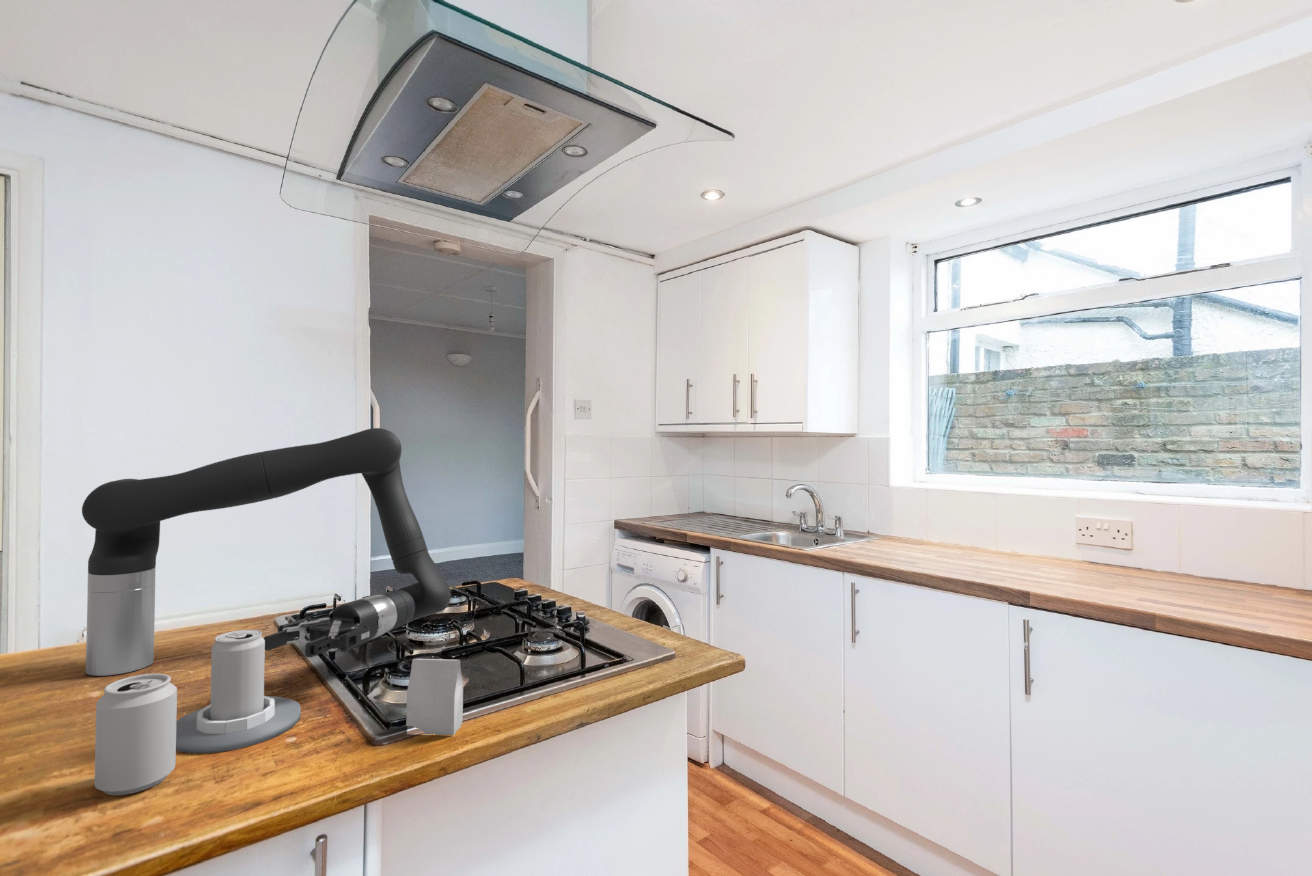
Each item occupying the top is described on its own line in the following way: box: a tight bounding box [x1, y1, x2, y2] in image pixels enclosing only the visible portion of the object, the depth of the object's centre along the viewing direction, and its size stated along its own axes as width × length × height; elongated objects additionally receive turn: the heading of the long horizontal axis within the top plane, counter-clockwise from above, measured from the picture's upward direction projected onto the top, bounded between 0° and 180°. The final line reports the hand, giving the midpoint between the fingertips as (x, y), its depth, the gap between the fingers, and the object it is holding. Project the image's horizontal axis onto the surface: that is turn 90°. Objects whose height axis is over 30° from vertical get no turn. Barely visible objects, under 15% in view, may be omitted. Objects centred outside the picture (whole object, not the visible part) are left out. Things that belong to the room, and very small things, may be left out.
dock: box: [176, 695, 302, 754], centre depth 91 cm, size 16×16×2 cm
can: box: [93, 673, 178, 796], centre depth 76 cm, size 8×8×12 cm
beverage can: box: [210, 629, 266, 721], centre depth 91 cm, size 6×6×12 cm
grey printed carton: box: [405, 658, 464, 736], centre depth 91 cm, size 4×7×10 cm, turn 89°
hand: (285, 647), depth 98 cm, fingers open, 8 cm apart
